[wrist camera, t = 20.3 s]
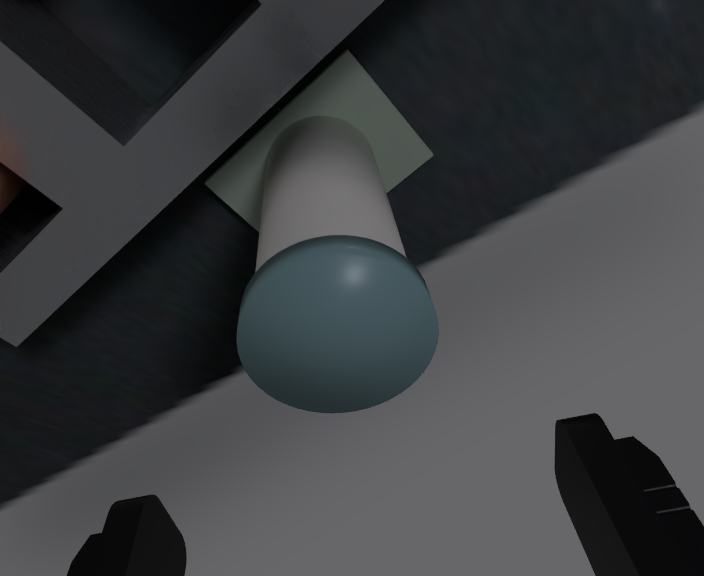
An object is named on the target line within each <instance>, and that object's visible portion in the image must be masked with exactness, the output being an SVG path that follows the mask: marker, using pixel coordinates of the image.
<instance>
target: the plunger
mask: <svg viewBox="0 0 704 576" xmlns="http://www.w3.org/2000/svg"><path fill="white" fill-rule="evenodd" d="M25 182H26V181H25V180H24V179H23V178H21V177H20V176H19V175H17V174H16V173H15V172H13V171H12V170H11V169H9V168H8V167H7V166H5V165H4V164H3V163H1V162H0V214H1V213H2V212H3V211H4V210H5V208H6V207H7V206H8V205H9V204H10V203H11V202H12V201H13V200H14V199H15V198H16V197H17V196H18V195H19V193H20V192H21V191H22V189H23V187H24V185H25Z"/></svg>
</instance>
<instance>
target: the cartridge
mask: <svg viewBox="0 0 704 576" xmlns="http://www.w3.org/2000/svg"><path fill="white" fill-rule="evenodd" d="M438 334H439V332H438V319H437V315H436V311H435V308H434V305H433V303H432V299H431V296H430V294H429V291H428V288H427V286H426V283H425V280H424V279H423V277H422V275H421V274H420V272H419V271H418V269H417V268H416V267H415V266H414V265H413V263H412V262H411V261H409V260H408V259H407V258H406V255H405V252H404V249H403V245H402V242H401V239H400V236H399V233H398V229H397V226H396V223H395V220H394V217H393V214H392V210H391V207H390V204H389V201H388V198H387V194H386V191H385V188H384V185H383V182H382V179H381V175H380V172H379V169H378V166H377V163H376V159H375V156H374V153H373V150H372V148H371V145H370V144H369V142H368V140H367V139H366V137H365V136H364V135H363V133H362V132H361V131H360V130H359V129H357V128H356V127H355V126H353V125H352V124H350V123H349V122H347V121H345V120H342V119H340V118H336V117H332V116H325V115H321V116H310V117H306V118H303V119H300V120H298V121H295V122H294V123H292V124H290V125H289V126H287V127H286V128H285V129H284V130H283V131H282V132H281V133H280V134H279V135H278V136H277V137H276V139H275V140H274V142H273V144H272V146H271V148H270V151H269V153H268V158H267V165H266V174H265V184H264V194H263V203H262V213H261V223H260V232H259V242H258V251H257V261H256V271H255V274H254V275H253V276H252V278H251V280H250V281H249V283H248V285H247V286H246V289H245V291H244V294H243V297H242V301H241V305H240V312H239V319H238V327H237V349H238V354H239V357H240V360H241V363H242V365H243V367H244V369H245V371H246V372H247V374H248V375H249V377H250V378H251V379H252V380H253V382H255V383H256V385H257V386H258V387H259V388H261V389H262V390H263V391H264V392H265V393H267V394H268V395H270V396H271V397H273V398H275V399H276V400H278V401H280V402H282V403H284V404H287V405H289V406H292V407H295V408H298V409H303V410H307V411H312V412H320V413H345V412H352V411H358V410H362V409H366V408H370V407H372V406H375V405H378V404H381V403H383V402H385V401H388V400H390V399H392V398H393V397H395V396H397V395H398V394H400V393H401V392H403V391H404V390H406V389H407V388H408V387H409V386H411V385H412V384H413V383H414V382H415V381H416V380H417V379H418V378H419V376H421V374H422V373H423V372H424V371H425V369H426V367H427V366H428V365H429V363H430V361H431V359H432V357H433V355H434V352H435V349H436V346H437V342H438Z"/></svg>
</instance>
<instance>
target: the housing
mask: <svg viewBox="0 0 704 576" xmlns="http://www.w3.org/2000/svg"><path fill="white" fill-rule="evenodd" d="M383 1H384V0H253V1H252V2H251V3H250V4H249V5H248V6H247V8H246V9H245V10H244V11H243V12H242V13H241V14H240V15H239V16H238V17H237V18H236V19H235V20H234V21H233V22H232V23H231V24H230V25H229V26H228V27H227V28H226V29H225V30H224V31H223V32H222V33H221V34H220V36H219V37H218V38H217V39H216V40H215V41H214V42H213V43H212V44H211V45H210V46H209V47H208V48H207V49H206V50H205V51H204V52H203V53H202V54H201V55H200V56H199V57H198V58H197V59H196V60H195V61H194V62H193V64H192V65H191V66H190V67H189V68H188V69H187V70H186V71H185V72H184V73H183V74H182V75H181V76H180V77H179V78H178V79H177V80H176V81H175V82H174V83H173V84H172V85H171V86H170V87H169V88H168V89H167V90H166V92H165V93H164V94H163V95H162V96H161V97H160V98H159V99H158V100H157V101H156V102H155V103H154V104H153V105H152V106H150V105H149V104H148V103H147V102H146V101H145V100H144V99H143V98H142V97H141V96H140V95H139V94H137V93H136V92H135V91H134V90H133V89H132V88H131V87H130V86H129V85H128V84H127V83H125V82H124V81H123V80H122V79H121V78H120V77H119V76H118V75H117V74H116V73H115V72H114V71H112V70H111V69H110V68H109V67H108V66H107V65H106V64H105V63H104V62H103V61H102V60H101V59H99V58H98V57H97V56H96V55H95V54H94V53H93V52H92V51H91V50H90V49H89V48H87V47H86V46H85V45H84V44H83V43H82V42H81V41H80V40H79V39H78V38H77V37H76V36H74V35H73V34H72V33H71V32H70V31H69V30H68V29H67V28H66V27H65V26H64V25H63V24H61V23H60V22H59V21H58V20H57V19H56V18H55V17H54V16H53V15H52V14H51V13H49V12H48V11H47V10H46V9H45V8H44V7H43V6H42V5H41V4H40V3H39V2H38V1H36V0H0V162H1V163H3V164H4V165H5V166H7V167H8V168H9V169H11V170H12V171H13V172H15V173H16V174H17V175H19V176H20V177H21V178H23V179H24V180H25V181H27V182H28V183H29V184H31V185H32V186H33V187H35V188H36V189H37V190H39V191H40V192H41V193H43V194H44V195H45V196H47V197H48V198H49V199H51V200H52V201H54V202H55V203H56V204H57V205H56V206H55V207H54V208H53V209H52V210H51V211H50V212H49V213H48V214H47V215H46V216H45V217H44V218H43V219H42V220H41V221H40V222H39V223H38V224H37V225H36V226H35V227H34V228H33V229H32V230H31V232H30V233H29V234H28V233H27V232H25V231H24V230H22V229H21V228H20V227H18V226H17V225H15V224H14V223H12V222H11V221H10V220H8V219H7V218H5V217H4V216H2V215H1V214H0V338H2V339H4V340H5V341H7V342H9V343H10V344H12V345H14V346H15V347H17V346H18V345H19V344H20V343H21V342H23V341H24V340H25V339H26V338H27V337H28V336H29V335H30V334H31V333H32V332H33V331H34V330H35V329H36V328H37V327H38V326H40V325H41V324H42V323H43V322H44V321H45V320H46V319H47V318H48V317H49V316H50V315H51V314H52V313H53V312H54V311H55V310H56V309H58V308H59V307H60V306H61V305H62V304H63V303H64V302H65V301H66V300H67V299H68V298H69V297H70V296H71V295H72V294H73V293H75V292H76V291H77V290H78V289H79V288H80V287H81V286H82V285H83V284H84V283H85V282H86V281H87V280H88V279H89V278H90V277H92V276H93V275H94V274H95V273H96V272H97V271H98V270H99V269H100V268H101V267H102V266H103V265H104V264H105V263H106V262H107V261H109V260H110V259H111V258H112V257H113V256H114V255H115V254H116V253H117V252H118V251H119V250H120V249H121V248H122V247H123V246H124V245H125V244H127V243H128V242H129V241H130V240H131V239H132V238H133V237H134V236H135V235H136V234H137V233H138V232H139V231H140V230H141V229H142V228H144V227H145V226H146V225H147V224H148V223H149V222H150V221H151V220H152V219H153V218H154V217H155V216H156V215H157V214H158V213H159V212H161V211H162V210H163V209H164V208H165V207H166V206H167V205H168V204H169V203H170V202H171V201H172V200H173V199H174V198H175V197H176V196H177V195H179V194H180V193H181V192H182V191H183V190H184V189H185V188H186V187H187V186H188V185H189V184H190V183H191V182H192V181H193V180H194V179H196V178H197V177H198V176H199V175H200V174H201V173H202V172H203V171H204V170H205V169H206V168H207V167H208V166H209V165H210V164H211V163H213V162H214V161H215V160H216V159H217V158H218V157H219V156H220V155H221V154H222V153H223V152H224V151H225V150H226V149H227V148H228V147H230V146H231V145H232V144H233V143H234V142H235V141H236V140H237V139H238V138H239V137H240V136H241V135H242V134H243V133H244V132H245V131H246V130H248V129H249V128H250V127H251V126H252V125H253V124H254V123H255V122H256V121H257V120H258V119H259V118H260V117H261V116H262V115H263V114H265V113H266V112H267V111H268V110H269V109H270V108H271V107H272V106H273V105H274V104H275V103H276V102H277V101H278V100H279V99H280V98H282V97H283V96H284V95H285V94H286V93H287V92H288V91H289V90H290V89H291V88H292V87H293V86H294V85H295V84H296V83H297V82H298V81H300V80H301V79H302V78H303V77H304V76H305V75H306V74H307V73H308V72H309V71H310V70H311V69H312V68H313V67H314V66H315V65H317V64H318V63H319V62H320V61H321V60H322V59H323V58H324V57H325V56H326V55H327V54H328V53H329V52H330V51H331V50H332V49H334V48H335V47H336V46H337V45H338V44H339V43H340V42H341V41H342V40H343V39H344V38H345V37H346V36H347V35H348V34H349V33H351V32H352V31H353V30H354V29H355V28H356V27H357V26H358V25H359V24H360V23H361V22H362V21H363V20H364V19H365V18H366V17H367V16H369V15H370V14H371V13H372V12H373V11H374V10H375V9H376V8H377V7H378V6H379V5H380V4H381V3H382V2H383Z"/></svg>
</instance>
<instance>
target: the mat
mask: <svg viewBox="0 0 704 576" xmlns="http://www.w3.org/2000/svg"><path fill="white" fill-rule="evenodd" d="M321 115H325V116H332V117H336V118H340V119H342V120H345V121H347V122H349V123H350V124H352V125H353V126H355V127H356V128H357V129H359V130H360V131H361V132H362V133H363V135H364V136H365V137H366V139H367V140H368V142H369V144H370V145H371V148H372V150H373V153H374V156H375V159H376V163H377V166H378V169H379V172H380V175H381V179H382V182H383V185H384V188H385V191H386V193H387V192H389V191H390V190H391V189H392V188H394V187H395V186H396V185H397V184H399V183H400V182H401V181H402V180H404V179H405V178H406V177H407V176H409V175H410V174H411V173H412V172H414V171H415V170H416V169H417V168H418V167H420V166H421V165H422V164H423V163H425V162H426V161H427V160H428V159H430V158H431V157H432V156H433V154H432V152H431V151H430V149H429V148H428V147H427V146H426V144H425V143H424V142H423V141H422V140H421V138H420V137H419V136H418V135H417V133H416V132H415V131H414V130H413V129H412V127H411V126H410V125H409V124H408V122H407V121H406V120H405V119H404V117H403V116H402V115H401V114H400V113H399V111H398V110H397V109H396V108H395V106H394V105H393V104H392V103H391V102H390V100H389V99H388V98H387V97H386V95H385V94H384V93H383V92H382V90H381V89H380V88H379V87H378V86H377V84H376V83H375V82H374V81H373V79H372V78H371V77H370V76H369V74H368V73H367V72H366V71H365V70H364V68H363V67H362V66H361V65H360V63H359V62H358V61H357V60H356V59H355V57H354V56H353V55H352V54H351V52H350V51H349V50H348V49H346V50H345V51H344V52H343V53H342V54H341V55H339V56H338V57H337V58H336V59H335V60H334V61H333V62H332V63H331V64H330V65H329V66H328V67H327V68H326V69H324V70H323V71H322V72H321V73H320V74H319V75H318V76H317V77H316V78H315V79H314V80H313V81H312V82H311V83H309V84H308V85H307V86H306V87H305V88H304V89H303V90H302V91H301V92H300V93H299V94H298V95H297V96H296V97H294V98H293V99H292V100H291V101H290V102H289V103H288V104H287V105H286V106H285V107H284V108H283V109H282V110H281V111H279V112H278V113H277V114H276V115H275V116H274V117H273V118H272V119H271V120H270V121H269V122H268V123H267V124H266V125H264V126H263V127H262V128H261V129H260V130H259V131H258V132H257V133H256V134H255V135H254V136H253V137H252V138H251V139H249V140H248V141H247V142H246V143H245V144H244V145H243V146H242V147H241V148H240V149H239V150H238V151H237V152H236V153H234V154H233V155H232V156H231V157H230V158H229V159H228V160H227V161H226V162H225V163H224V164H223V165H222V166H221V167H219V168H218V169H217V170H216V171H215V172H214V173H213V174H212V175H211V176H210V177H209V178H208V179H207V180H206V181H205V185H206V186H207V187H209V188H210V189H211V190H212V191H213V192H214V193H215V194H216V195H217V196H219V197H220V198H221V199H222V200H223V201H224V202H225V203H226V204H228V205H229V206H230V207H231V208H232V209H233V210H234V211H235V212H237V213H238V214H239V215H240V216H241V217H242V218H243V219H244V220H246V221H247V222H248V223H249V224H250V225H251V226H252V227H253V228H255V229H256V230H257V231H258V232H260V223H261V213H262V203H263V194H264V184H265V174H266V165H267V158H268V153H269V151H270V148H271V146H272V144H273V142H274V140H275V139H276V137H277V136H278V135H279V134H280V133H281V132H282V131H283V130H284V129H285V128H286V127H287V126H289V125H290V124H292V123H294V122H295V121H298V120H300V119H303V118H306V117H310V116H321Z"/></svg>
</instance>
